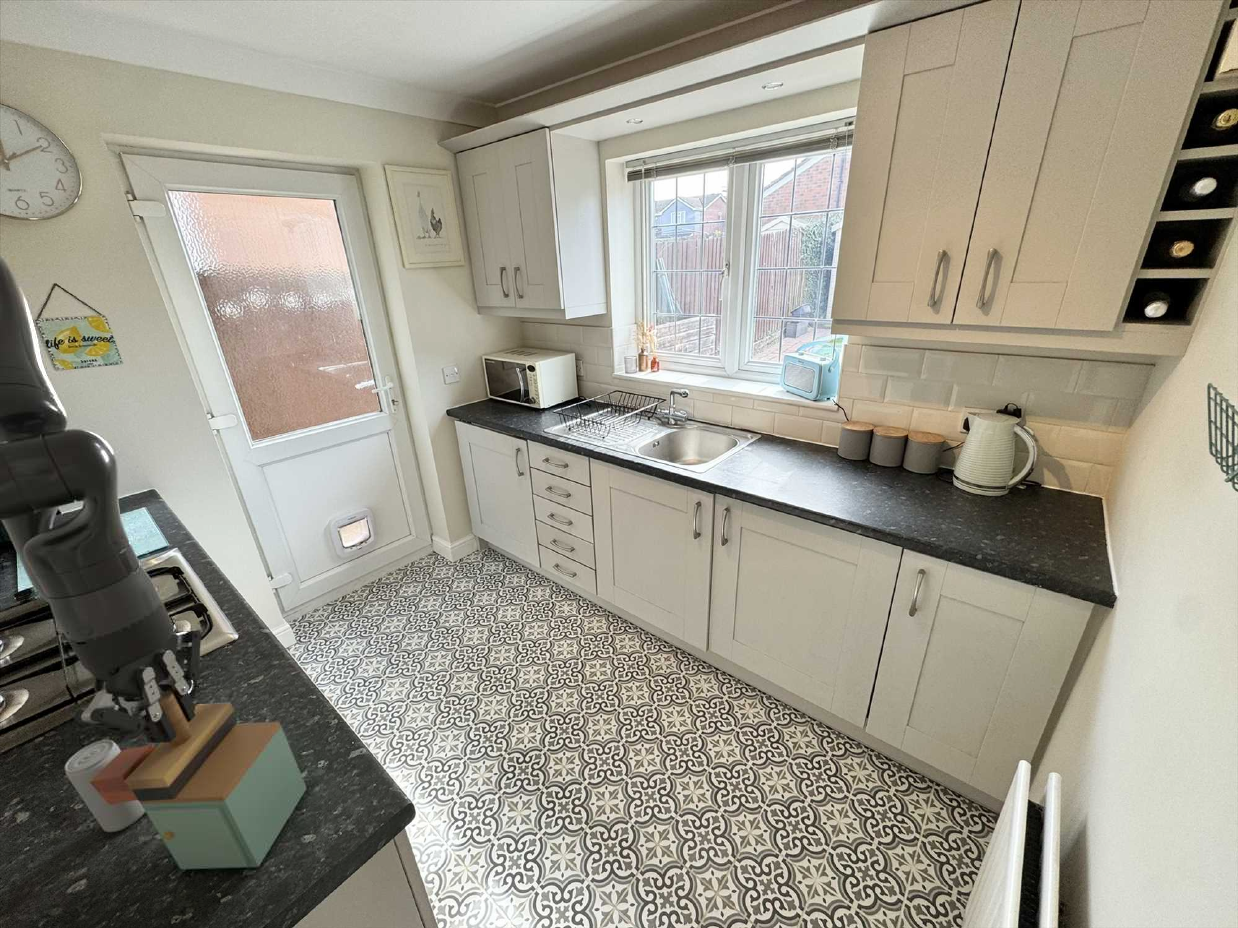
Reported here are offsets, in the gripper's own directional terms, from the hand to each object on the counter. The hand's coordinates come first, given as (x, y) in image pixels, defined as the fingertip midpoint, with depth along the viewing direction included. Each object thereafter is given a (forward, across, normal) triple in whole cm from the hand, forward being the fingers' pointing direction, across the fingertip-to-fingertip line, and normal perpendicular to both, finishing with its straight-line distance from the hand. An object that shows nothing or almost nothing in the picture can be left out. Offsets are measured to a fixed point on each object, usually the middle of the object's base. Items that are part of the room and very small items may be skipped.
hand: (175, 729), depth 58 cm
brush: (+5, 0, 0) cm, 5 cm away
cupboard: (+18, 0, +3) cm, 18 cm away
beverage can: (+18, -2, -16) cm, 24 cm away
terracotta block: (+5, +3, -4) cm, 7 cm away
